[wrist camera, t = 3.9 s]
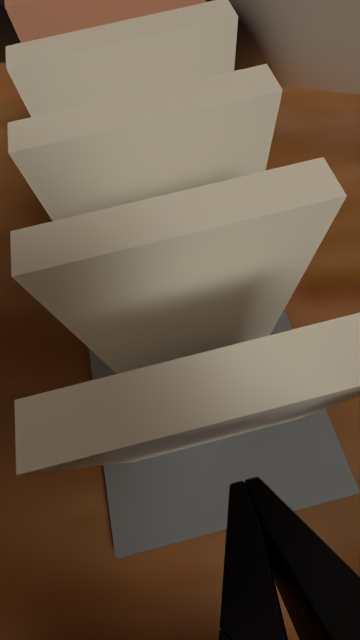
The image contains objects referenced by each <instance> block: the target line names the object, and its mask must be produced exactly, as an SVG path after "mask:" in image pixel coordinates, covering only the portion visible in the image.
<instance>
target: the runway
mask: <svg viewBox="0 0 360 640" xmlns="http://www.w3.org/2000/svg"><path fill="white" fill-rule="evenodd" d="M289 330H292V327H291V325H290V323H289V320H288V318H287V315H286V313H285V311H284V310H283V312H282V314H281V316H280V318H279V319H278V321H277V323H276V325H275V327H274V328H273V330H272V332H271V334H270V335H273V334H277V333H281V332H285V331H289ZM89 355H90V363H91V371H92V379H93V380H95V379H99V378H103V377H107V376H111V375H115V374H117V373H115V372H114V371H113V370H112V369H111V368H110V367H109V366H108V365H107V364H106V363H105V362H104V361H102V360H101V359H100V358H99V357H98V356H97V355H96V354H95V353H94V352H93V351H92V350H91V349H89ZM104 473H105V481H106V489H107V497H108V505H109V513H110V520H111V528H112V536H113V544H114V552H115V559H118V558H121V557H125V556H129V555H132V554H136V553H140V552H144V551H147V550H151V549H155V548H158V547H162V546H166V545H170V544H173V543H177V542H181V541H184V540H188V539H192V538H195V537H199V536H203V535H207V534H210V533H214V532H218V531H221V530H225V529H227V514H228V500H229V486H230V484H231V483H234V482H238V481H244V482H245V480H246V479H249V478H253V477H259V478H260V479H261V480H262V481H263V482H264V483H265V484H266V485H267V486H268V487H269V488H270V489H271V490H272V491H273V492H274V493H275V494H276V495H277V496H278V497H279V498H280V499H281V500H282V501H283V502H284V503H286V504H287V505H288V506H289V507H290V508H291V509H292V510H293V511H295V510H299V509H303V508H307V507H310V506H314V505H318V504H321V503H325V502H329V501H332V500H336V499H340V498H344V497H347V496H351V495H355V494H358V493H360V491H359V488H358V486H357V484H356V481H355V479H354V476H353V474H352V471H351V469H350V467H349V464H348V462H347V459H346V457H345V455H344V452H343V450H342V447H341V445H340V443H339V440H338V438H337V435H336V433H335V431H334V428H333V426H332V423H331V421H330V419H329V416H328V414H327V411H326V409H324V410H321V411H318V412H315V413H313V414H310V415H307V416H305V417H302V418H299V419H296V420H292V421H288V422H285V423H281V424H277V425H273V426H269V427H266V428H262V429H258V430H254V431H250V432H246V433H243V434H239V435H235V436H231V437H227V438H223V439H220V440H216V441H212V442H208V443H204V444H200V445H197V446H193V447H189V448H185V449H181V450H178V451H174V452H170V453H166V454H162V455H158V456H155V457H151V458H147V459H143V460H139V461H135V462H129V463H120V464H111V465H104Z"/></svg>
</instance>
